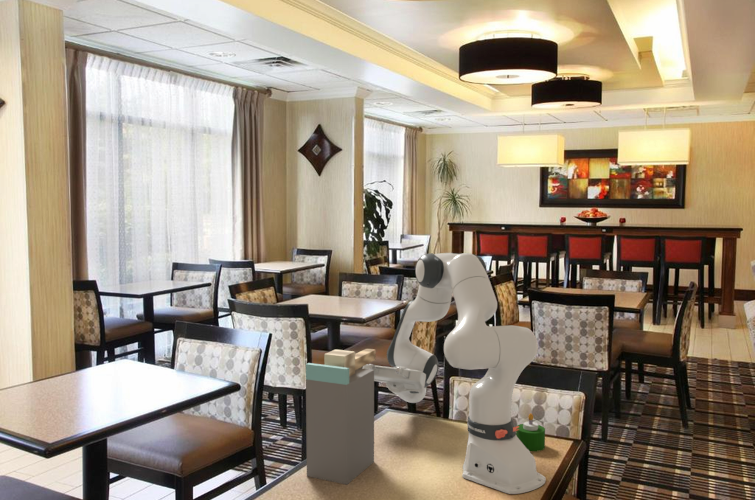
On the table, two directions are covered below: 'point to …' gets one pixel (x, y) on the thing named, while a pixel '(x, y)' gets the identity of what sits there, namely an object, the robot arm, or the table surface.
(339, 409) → the pedestal
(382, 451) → the table surface
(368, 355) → the mallet
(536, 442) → the candle
